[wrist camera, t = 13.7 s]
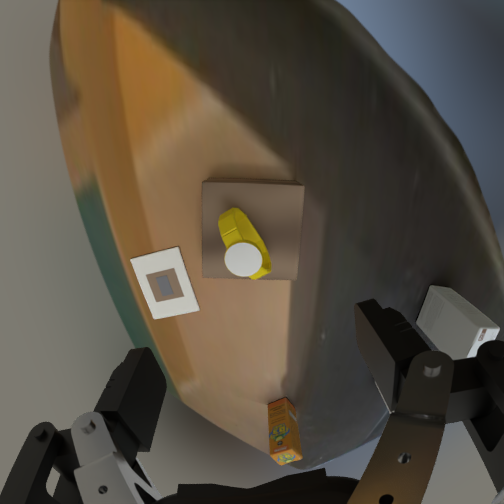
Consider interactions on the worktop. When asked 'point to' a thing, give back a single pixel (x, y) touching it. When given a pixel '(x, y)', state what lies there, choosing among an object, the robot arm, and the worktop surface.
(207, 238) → the walnut block
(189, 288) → the card
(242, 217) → the watch
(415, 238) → the worktop surface
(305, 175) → the worktop surface
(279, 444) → the supplement box
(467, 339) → the skincare box
